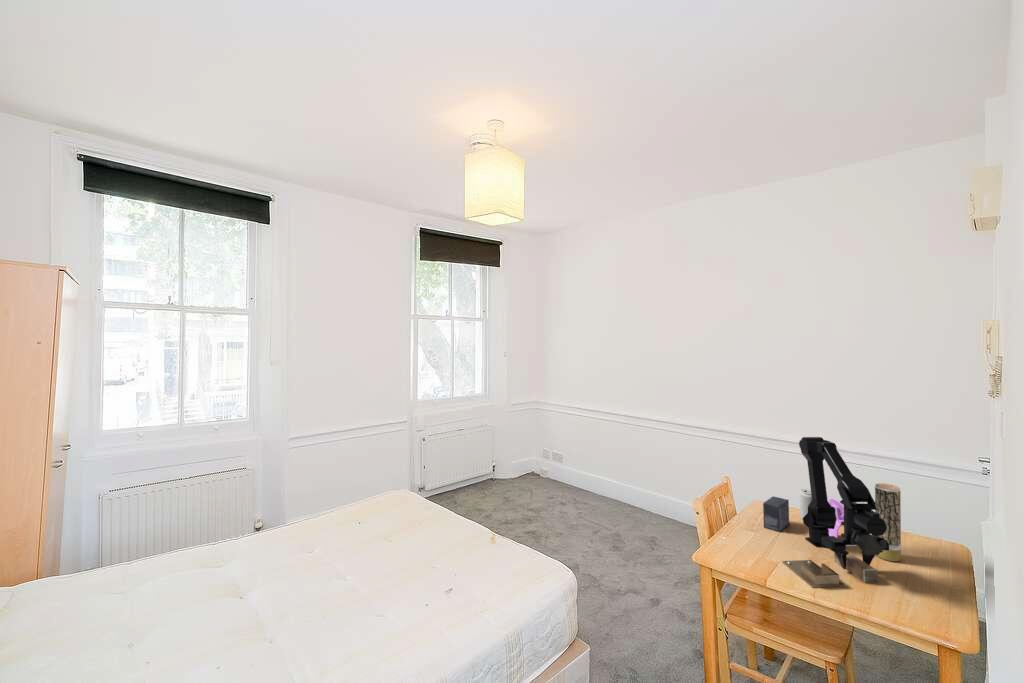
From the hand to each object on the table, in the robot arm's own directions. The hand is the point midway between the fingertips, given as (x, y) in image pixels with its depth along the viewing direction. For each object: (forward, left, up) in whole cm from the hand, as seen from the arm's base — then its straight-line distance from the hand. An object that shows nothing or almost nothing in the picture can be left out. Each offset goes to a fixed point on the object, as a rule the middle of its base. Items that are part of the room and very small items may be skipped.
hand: (855, 568), depth 148 cm
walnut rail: (0, 0, -1) cm, 1 cm away
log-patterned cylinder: (-8, +18, -1) cm, 20 cm away
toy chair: (-24, +14, -1) cm, 28 cm away
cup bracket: (0, -15, -1) cm, 15 cm away
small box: (-35, -5, -1) cm, 35 cm away
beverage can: (-40, +12, -1) cm, 42 cm away
